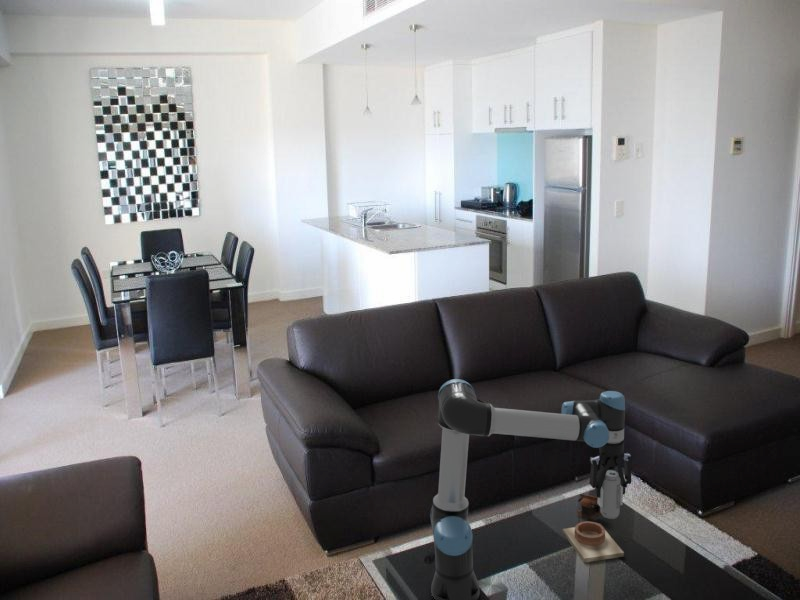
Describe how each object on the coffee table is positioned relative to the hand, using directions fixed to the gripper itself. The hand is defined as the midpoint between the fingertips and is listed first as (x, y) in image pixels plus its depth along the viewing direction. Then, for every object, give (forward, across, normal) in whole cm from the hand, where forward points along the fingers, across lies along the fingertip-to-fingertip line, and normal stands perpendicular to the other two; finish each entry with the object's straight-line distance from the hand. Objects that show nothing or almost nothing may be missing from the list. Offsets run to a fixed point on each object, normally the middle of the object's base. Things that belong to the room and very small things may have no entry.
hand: (609, 504), depth 225 cm
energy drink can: (+4, 0, 0) cm, 4 cm away
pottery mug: (+20, +5, +26) cm, 33 cm away
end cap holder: (+20, -2, +8) cm, 21 cm away
